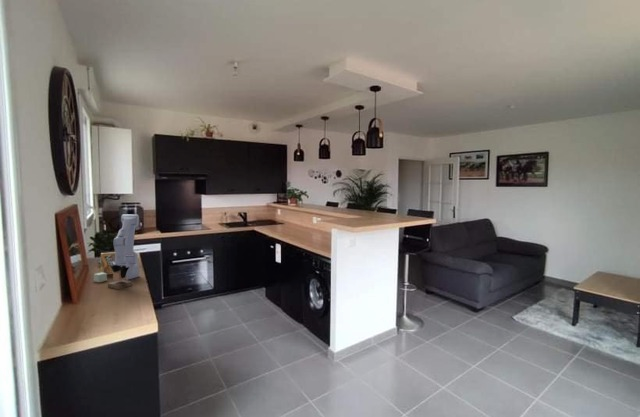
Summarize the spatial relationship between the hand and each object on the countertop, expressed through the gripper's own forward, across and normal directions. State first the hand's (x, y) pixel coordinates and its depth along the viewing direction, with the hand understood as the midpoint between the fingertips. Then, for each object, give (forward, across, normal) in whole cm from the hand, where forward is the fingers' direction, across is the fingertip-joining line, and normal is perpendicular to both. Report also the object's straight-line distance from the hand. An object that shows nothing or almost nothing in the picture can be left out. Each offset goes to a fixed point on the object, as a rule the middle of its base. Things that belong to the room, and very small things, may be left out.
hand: (120, 277), depth 191 cm
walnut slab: (+6, 0, 0) cm, 6 cm away
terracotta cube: (+2, 0, 0) cm, 2 cm away
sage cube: (+6, -21, +2) cm, 22 cm away
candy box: (+6, -32, +15) cm, 36 cm away
